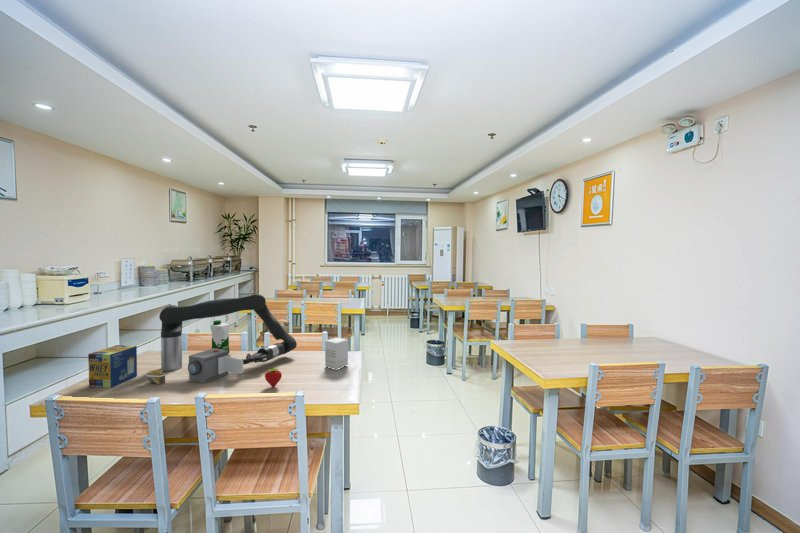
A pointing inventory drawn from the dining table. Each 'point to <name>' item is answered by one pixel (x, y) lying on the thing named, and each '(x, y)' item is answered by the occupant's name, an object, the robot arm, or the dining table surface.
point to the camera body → (205, 365)
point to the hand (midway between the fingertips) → (244, 362)
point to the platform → (156, 376)
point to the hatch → (230, 364)
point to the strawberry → (273, 377)
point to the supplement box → (336, 353)
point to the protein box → (112, 366)
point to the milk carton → (220, 335)
